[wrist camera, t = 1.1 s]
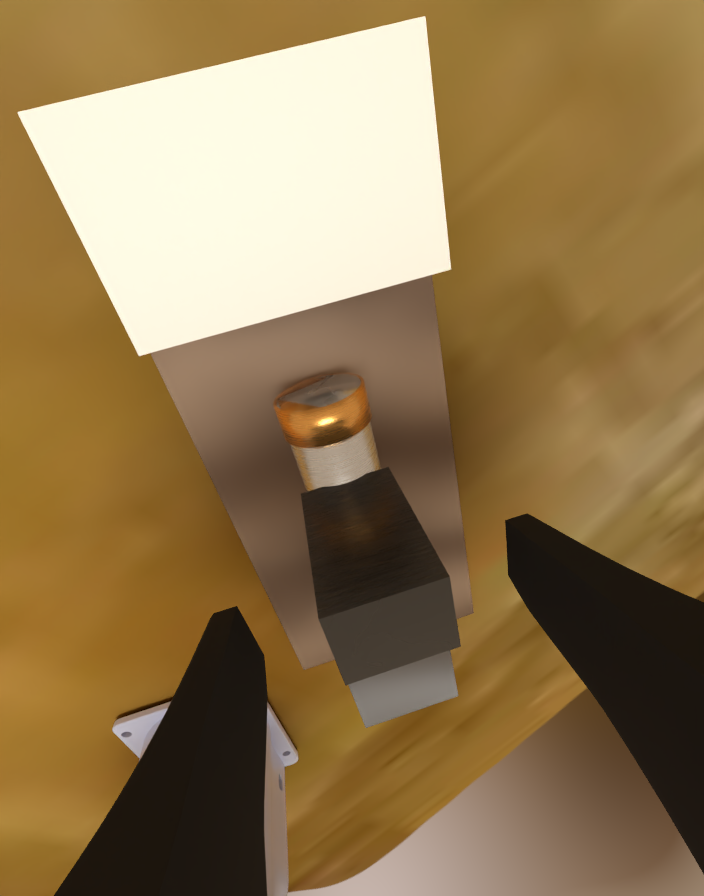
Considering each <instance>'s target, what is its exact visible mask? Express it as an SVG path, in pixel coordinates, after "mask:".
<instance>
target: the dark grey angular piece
mask: <svg viewBox="0 0 704 896" xmlns="http://www.w3.org/2000/svg"><path fill="white" fill-rule="evenodd" d="M273 407H274V409H275V412H276V415H277V418H278V421H279V423H280V426H281V429H282V432H283V435H284V438H285V440H286V441H287V442H288V443H289V444H290V445H291V448H292V451H293V454H294V457H295V460H296V462H297V465H298V468H299V471H300V474H301V477H302V480H303V482H304V485H305V488H306V491H307V492H304V493H301V499H302V506H303V513H304V521H305V528H306V535H307V542H308V549H309V556H310V563H311V570H312V577H313V584H314V591H315V598H316V605H317V612H318V619H319V622H320V624H321V627H322V629H323V632H324V634H325V636H326V639H327V641H328V644H329V646H330V649H331V651H332V653H333V656H334V658H335V661H336V663H337V666H338V668H339V670H340V673H341V675H342V678H343V680H344V683H345V685H348V684H351V683H354V682H357V681H360V680H363V679H366V678H369V677H372V676H375V675H378V674H381V673H384V672H387V671H390V670H393V669H396V668H399V667H401V666H404V665H407V664H410V663H413V662H416V661H419V660H422V659H425V658H428V657H431V656H434V655H437V654H440V653H443V652H446V651H449V650H452V649H454V648H457V647H460V646H461V645H460V639H459V632H458V626H457V619H456V613H455V607H454V600H453V594H452V588H451V581H450V576H449V574H448V573H447V571H446V569H445V567H444V565H443V564H442V562H441V560H440V558H439V556H438V555H437V553H436V551H435V549H434V547H433V546H432V544H431V542H430V540H429V538H428V537H427V535H426V533H425V531H424V529H423V528H422V526H421V524H420V522H419V521H418V519H417V517H416V515H415V513H414V512H413V510H412V508H411V506H410V504H409V503H408V501H407V499H406V497H405V495H404V494H403V492H402V490H401V488H400V486H399V485H398V483H397V481H396V479H395V478H394V476H393V474H392V472H391V470H390V469H389V467H386V468H383V469H381V466H380V462H379V457H378V453H377V449H376V444H375V440H374V436H373V431H372V427H371V423H370V420H371V417H372V414H371V409H370V405H369V401H368V396H367V392H366V387H365V383H364V379H363V378H362V377H361V376H359V375H357V374H352V373H335V374H328V375H323V376H318V377H314V378H311V379H308V380H305V381H302V382H300V383H297V384H295V385H293V386H291V387H289V388H288V389H286V390H284V391H283V392H281V393H280V394H279V395H278V396H277V397H276V398H275V400H274V402H273Z"/></svg>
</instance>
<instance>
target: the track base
mask: <svg viewBox="0 0 704 896" xmlns="http://www.w3.org/2000/svg"><path fill="white" fill-rule="evenodd" d="M151 356H152V358H153V360H154V362H155V364H156V366H157V368H158V370H159V372H160V374H161V376H162V378H163V380H164V382H165V384H166V387H167V389H168V391H169V393H170V395H171V397H172V399H173V401H174V403H175V405H176V407H177V409H178V411H179V413H180V415H181V417H182V420H183V422H184V424H185V426H186V428H187V430H188V432H189V434H190V436H191V438H192V440H193V442H194V444H195V446H196V448H197V451H198V453H199V455H200V457H201V459H202V461H203V463H204V465H205V467H206V469H207V471H208V473H209V475H210V477H211V479H212V481H213V484H214V486H215V488H216V490H217V492H218V494H219V496H220V498H221V500H222V502H223V504H224V506H225V508H226V510H227V512H228V515H229V517H230V519H231V521H232V523H233V525H234V527H235V529H236V531H237V533H238V535H239V537H240V539H241V541H242V543H243V545H244V548H245V550H246V552H247V554H248V556H249V558H250V560H251V562H252V564H253V566H254V568H255V570H256V572H257V574H258V576H259V579H260V581H261V583H262V585H263V587H264V589H265V591H266V593H267V595H268V597H269V599H270V601H271V603H272V605H273V607H274V610H275V612H276V614H277V616H278V618H279V620H280V622H281V624H282V626H283V628H284V630H285V632H286V634H287V636H288V638H289V640H290V643H291V645H292V647H293V649H294V651H295V653H296V655H297V657H298V659H299V661H300V663H301V665H302V667H303V669H304V670H305V669H308V668H311V667H314V666H317V665H320V664H323V663H326V662H329V661H332V660H335V658H334V656H333V653H332V651H331V649H330V646H329V644H328V641H327V639H326V636H325V634H324V632H323V629H322V627H321V624H320V622H319V619H318V612H317V605H316V598H315V591H314V584H313V577H312V570H311V563H310V556H309V549H308V542H307V535H306V528H305V521H304V513H303V506H302V499H301V493H304V492H307V491H306V488H305V485H304V482H303V480H302V477H301V474H300V471H299V468H298V465H297V462H296V460H295V457H294V454H293V451H292V448H291V445H290V444H289V443H288V442H287V441H286V440H285V438H284V435H283V432H282V429H281V426H280V423H279V421H278V418H277V415H276V412H275V409H274V407H273V402H274V400H275V398H276V397H277V396H278V395H279V394H280V393H281V392H283V391H284V390H286V389H288V388H289V387H291V386H293V385H295V384H297V383H300V382H302V381H305V380H308V379H311V378H314V377H318V376H323V375H328V374H335V373H352V374H357V375H359V376H361V377H362V378H363V379H364V383H365V387H366V392H367V396H368V401H369V405H370V409H371V414H372V417H371V420H370V423H371V427H372V431H373V436H374V440H375V444H376V449H377V453H378V457H379V462H380V466H381V469H383V468H386V467H389V469H390V470H391V472H392V474H393V476H394V478H395V479H396V481H397V483H398V485H399V486H400V488H401V490H402V492H403V494H404V495H405V497H406V499H407V501H408V503H409V504H410V506H411V508H412V510H413V512H414V513H415V515H416V517H417V519H418V521H419V522H420V524H421V526H422V528H423V529H424V531H425V533H426V535H427V537H428V538H429V540H430V542H431V544H432V546H433V547H434V549H435V551H436V553H437V555H438V556H439V558H440V560H441V562H442V564H443V565H444V567H445V569H446V571H447V573H448V574H449V576H450V581H451V588H452V594H453V600H454V607H455V613H456V619H458V618H461V617H464V616H467V615H470V614H473V613H474V612H473V604H472V596H471V588H470V580H469V572H468V564H467V556H466V548H465V540H464V531H463V523H462V515H461V507H460V499H459V491H458V483H457V475H456V467H455V459H454V451H453V443H452V435H451V427H450V419H449V411H448V403H447V395H446V387H445V378H444V370H443V362H442V354H441V346H440V338H439V330H438V322H437V314H436V306H435V298H434V290H433V282H432V275H429V276H426V277H422V278H418V279H415V280H411V281H408V282H404V283H400V284H397V285H393V286H390V287H386V288H382V289H379V290H375V291H372V292H368V293H364V294H361V295H357V296H354V297H350V298H346V299H343V300H339V301H336V302H332V303H328V304H325V305H321V306H318V307H314V308H310V309H307V310H303V311H300V312H296V313H292V314H289V315H285V316H282V317H278V318H274V319H271V320H267V321H264V322H260V323H256V324H253V325H249V326H246V327H242V328H238V329H235V330H231V331H228V332H224V333H220V334H217V335H213V336H210V337H206V338H202V339H199V340H195V341H192V342H188V343H184V344H181V345H177V346H174V347H170V348H166V349H163V350H159V351H156V352H152V353H151ZM348 685H349V688H350V690H351V692H352V695H353V697H354V700H355V702H356V705H357V707H358V710H359V712H360V715H361V717H362V720H363V722H364V725H365V727H366V728H367V727H370V726H373V725H376V724H379V723H382V722H385V721H387V720H390V719H393V718H396V717H399V716H402V715H405V714H408V713H410V712H413V711H416V710H419V709H422V708H425V707H428V706H431V705H434V704H436V703H439V702H442V701H445V700H448V699H451V698H454V697H457V696H458V692H457V686H456V681H455V675H454V669H453V664H452V658H451V653H450V650H449V651H446V652H443V653H440V654H437V655H434V656H431V657H428V658H425V659H422V660H419V661H416V662H413V663H410V664H407V665H404V666H401V667H399V668H396V669H393V670H390V671H387V672H384V673H381V674H378V675H375V676H372V677H369V678H366V679H363V680H360V681H357V682H354V683H351V684H348Z"/></svg>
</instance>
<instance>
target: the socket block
mask: <svg viewBox="0 0 704 896" xmlns="http://www.w3.org/2000/svg"><path fill="white" fill-rule="evenodd" d="M17 113H18V115H19V117H20V119H21V121H22V123H23V125H24V127H25V129H26V131H27V133H28V135H29V137H30V139H31V141H32V143H33V145H34V147H35V149H36V151H37V153H38V155H39V157H40V159H41V161H42V163H43V165H44V167H45V169H46V171H47V173H48V175H49V177H50V179H51V181H52V183H53V185H54V187H55V189H56V191H57V193H58V195H59V197H60V199H61V201H62V203H63V205H64V207H65V209H66V211H67V213H68V215H69V217H70V219H71V221H72V223H73V225H74V227H75V229H76V231H77V233H78V235H79V237H80V239H81V241H82V243H83V245H84V247H85V249H86V251H87V253H88V255H89V257H90V259H91V261H92V263H93V265H94V267H95V269H96V271H97V273H98V275H99V277H100V279H101V281H102V283H103V285H104V287H105V289H106V291H107V293H108V295H109V297H110V299H111V301H112V303H113V305H114V307H115V309H116V311H117V313H118V315H119V317H120V319H121V321H122V323H123V325H124V327H125V329H126V331H127V333H128V335H129V337H130V339H131V341H132V343H133V345H134V347H135V349H136V351H137V353H138V355H139V356H141V355H145V354H148V353H152V352H156V351H159V350H163V349H166V348H170V347H174V346H177V345H181V344H184V343H188V342H192V341H195V340H199V339H202V338H206V337H210V336H213V335H217V334H220V333H224V332H228V331H231V330H235V329H238V328H242V327H246V326H249V325H253V324H256V323H260V322H264V321H267V320H271V319H274V318H278V317H282V316H285V315H289V314H292V313H296V312H300V311H303V310H307V309H310V308H314V307H318V306H321V305H325V304H328V303H332V302H336V301H339V300H343V299H346V298H350V297H354V296H357V295H361V294H364V293H368V292H372V291H375V290H379V289H382V288H386V287H390V286H393V285H397V284H400V283H404V282H408V281H411V280H415V279H418V278H422V277H426V276H429V275H433V274H436V273H440V272H444V271H447V270H451V264H450V254H449V244H448V235H447V225H446V215H445V205H444V195H443V185H442V175H441V166H440V156H439V146H438V136H437V126H436V116H435V107H434V97H433V87H432V77H431V67H430V57H429V48H428V38H427V28H426V18H425V16H424V17H419V18H415V19H411V20H407V21H403V22H398V23H394V24H390V25H386V26H381V27H377V28H373V29H369V30H364V31H360V32H356V33H352V34H347V35H343V36H339V37H335V38H330V39H326V40H322V41H318V42H313V43H309V44H305V45H301V46H296V47H292V48H288V49H284V50H279V51H275V52H271V53H267V54H262V55H258V56H254V57H250V58H245V59H241V60H237V61H233V62H229V63H224V64H220V65H216V66H212V67H207V68H203V69H199V70H195V71H190V72H186V73H182V74H178V75H173V76H169V77H165V78H161V79H156V80H152V81H148V82H144V83H139V84H135V85H131V86H127V87H122V88H118V89H114V90H110V91H105V92H101V93H97V94H93V95H88V96H84V97H80V98H76V99H71V100H67V101H63V102H59V103H55V104H50V105H46V106H42V107H38V108H33V109H29V110H25V111H21V112H17Z"/></svg>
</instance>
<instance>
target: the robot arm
mask: <svg viewBox="0 0 704 896" xmlns="http://www.w3.org/2000/svg"><path fill="white" fill-rule="evenodd" d="M505 523H506V541H507V559H508V575H509V577H510V579H511V581H512V582H513V584H514V586H515V588H516V589H517V591H518V593H519V594H520V596H521V598H522V599H523V601H524V603H525V604H526V606H527V608H528V609H529V611H530V612H531V614H532V615H533V616H534V618H535V619H536V620H537V622H538V623H539V624H540V626H541V627H542V628H543V630H544V631H545V632H546V634H547V635H548V636H549V638H550V639H551V640H552V642H553V643H554V644H555V646H556V647H557V648H558V649H559V651H560V652H561V653H562V655H563V656H564V657H565V659H566V660H567V661H568V663H569V664H570V665H571V667H572V668H573V669H574V670H575V672H576V673H577V674H578V676H579V677H580V678H581V680H582V681H583V682H584V684H585V685H586V686H587V688H588V689H589V690H590V691H591V693H592V694H593V696H594V697H595V699H596V700H597V701H598V703H599V704H600V705H601V707H602V708H603V710H604V711H605V713H606V714H607V716H608V717H609V719H610V721H611V722H612V724H613V725H614V727H615V728H616V730H617V731H618V733H619V735H620V736H621V738H622V739H623V741H624V742H625V744H626V746H627V747H628V749H629V750H630V752H631V754H632V755H633V756H634V758H635V760H636V761H637V763H638V765H639V766H640V768H641V770H642V771H643V773H644V775H645V776H646V778H647V779H648V781H649V783H650V784H651V786H652V788H653V789H654V791H655V792H656V794H657V796H658V797H659V799H660V801H661V802H662V804H663V805H664V807H665V809H666V811H667V812H668V813H669V816H670V817H671V819H672V821H673V822H674V824H675V826H676V827H677V829H678V831H679V833H680V834H681V836H682V838H683V839H684V841H685V843H686V844H687V846H688V848H689V849H690V851H691V853H692V855H693V856H694V858H695V859H696V861H697V863H698V865H699V867H700V868H701V870H702V872H703V873H704V602H701V601H699V600H697V599H694V598H692V597H689V596H687V595H685V594H682V593H680V592H678V591H675V590H673V589H671V588H669V587H667V586H664V585H662V584H660V583H658V582H656V581H654V580H652V579H650V578H647V577H645V576H643V575H641V574H639V573H637V572H635V571H633V570H631V569H629V568H627V567H625V566H623V565H621V564H619V563H617V562H615V561H613V560H611V559H609V558H607V557H605V556H603V555H601V554H600V553H598V552H596V551H594V550H592V549H590V548H588V547H586V546H585V545H583V544H581V543H579V542H577V541H576V540H574V539H572V538H570V537H568V536H567V535H565V534H563V533H561V532H559V531H558V530H556V529H554V528H552V527H551V526H549V525H547V524H545V523H543V522H542V521H540V520H538V519H536V518H535V517H533V516H531V515H529V514H524V515H521V516H518V517H514V518H511V519H508V520H505ZM112 731H113V732H114V733H115V734H116V735H117V736H118V737H119V738H120V739H121V740H122V741H123V742H124V743H125V744H126V745H127V746H128V747H129V748H130V749H131V750H132V751H133V752H134V753H135V754H136V755H137V756H138V757H139V758H140V759H139V763H138V764H137V766H136V768H135V770H134V771H133V773H132V775H131V776H130V778H129V780H128V782H127V783H126V785H125V787H124V788H123V790H122V792H121V793H120V795H119V797H118V798H117V800H116V801H115V803H114V805H113V806H112V808H111V810H110V811H109V813H108V814H107V816H106V818H105V819H104V821H103V822H102V824H101V826H100V827H99V829H98V830H97V832H96V833H95V835H94V836H93V838H92V839H91V841H90V842H89V844H88V845H87V847H86V848H85V850H84V852H83V853H82V855H81V856H80V858H79V859H78V861H77V862H76V864H75V865H74V867H73V868H72V870H71V871H70V873H69V874H68V876H67V877H66V878H65V880H64V881H63V883H62V884H61V886H60V887H59V889H58V890H57V892H56V893H55V895H54V896H287V893H288V850H287V823H286V795H285V768H284V767H286V766H289V765H292V764H294V763H296V762H297V761H298V752H297V750H296V749H295V747H294V745H293V744H292V742H291V740H290V739H289V737H288V735H287V734H286V732H285V730H284V729H283V727H282V725H281V724H280V722H279V720H278V718H277V717H276V715H275V713H274V712H273V710H272V708H271V707H270V705H269V703H268V702H267V684H266V671H265V660H264V654H263V653H262V651H261V649H260V647H259V645H258V643H257V642H256V640H255V638H254V636H253V634H252V633H251V631H250V629H249V627H248V625H247V624H246V622H245V620H244V618H243V616H242V614H241V613H240V611H239V609H238V607H237V606H236V607H232V608H229V609H226V610H223V611H220V612H217V613H214V614H213V615H212V617H211V618H210V620H209V623H208V625H207V627H206V629H205V631H204V634H203V636H202V638H201V640H200V642H199V644H198V647H197V649H196V651H195V653H194V655H193V657H192V660H191V662H190V664H189V666H188V668H187V670H186V672H185V674H184V676H183V678H182V680H181V683H180V685H179V687H178V689H177V691H176V693H175V695H174V697H173V699H172V701H170V702H167V703H164V704H161V705H158V706H155V707H152V708H149V709H146V710H143V711H140V712H137V713H134V714H131V715H128V716H125V717H122V718H120V719H118V720H116V721H115V722H114V725H113V729H112Z"/></svg>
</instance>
